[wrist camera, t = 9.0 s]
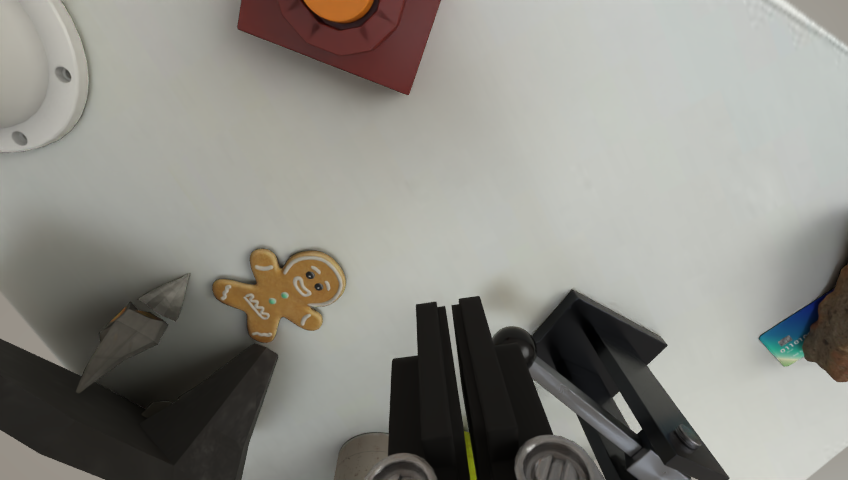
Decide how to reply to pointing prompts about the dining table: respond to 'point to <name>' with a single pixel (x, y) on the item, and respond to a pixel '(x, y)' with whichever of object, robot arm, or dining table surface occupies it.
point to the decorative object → (135, 405)
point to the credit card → (791, 334)
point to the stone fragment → (831, 332)
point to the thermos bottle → (361, 456)
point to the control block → (349, 36)
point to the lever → (591, 411)
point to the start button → (340, 9)
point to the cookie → (283, 291)
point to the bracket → (621, 384)
